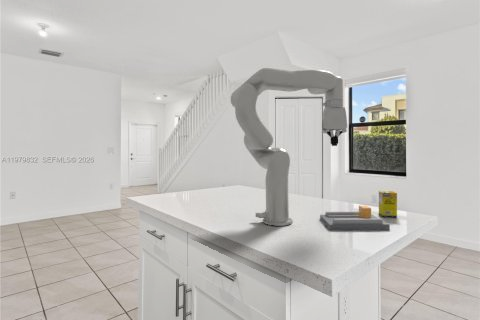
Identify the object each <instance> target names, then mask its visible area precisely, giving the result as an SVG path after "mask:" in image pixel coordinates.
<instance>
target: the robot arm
mask: <svg viewBox="0 0 480 320" xmlns="http://www.w3.org/2000/svg"><path fill="white" fill-rule="evenodd" d="M343 81H344V80H343V77H341V76H337V75H336V76H335V74H334V73H332V72H330V71H327V70H321V69H320V70H319V69H305V70H302V69H301V70H285V69H279V68H270V67H263V68H261V69H259V70H257V71H256V72H255V73H253V74H252V75H251V76H250V77H249V78H248V79H247V80H246V81H244V83H242V84H241V85H240V86H238V87H237V88H236V89H235V90H234V91H233V92H232V93H231V96H230V104H231V106H232V107H234V112H235V118H236V122H237V124H238V125H239V127H240V128H241V129H242V131H243V133H244V137H243V143H244V145H245V148H246V150H247V151H248V152H249V154H250V155H251V156H252V157H253V159H254V161H256V163H257V164H258V165H259V166H260V167H262V168H263V169H265V170H266V174H265V210H264V211H262V212H255V218H258V219H262V223H263V222H264V223H265V224H264V223H263V224H264V225H267V224H268V225H267V226H271V225H274V226H273V227H283V226H284V227H285V226H290V225H291V224H292V223H293V219H292V218H290V216H289V215H290V214H289V213H290V212H289V211H290V210H289V208H290V207H289V172H290V171H289V170H290V166H291V165H290V164H291V158H290V155H289V153H288V152H287V151H286V150H285V149H284V148H280V147H272V145H273V143H274V137H273V135H272V133H271V131H270V130H269V129H268V128H267V126H266V125H265V124H264V122H263V121H262V120H261V117H260V116H259V114H258V111H257V100H258V98H259V96H260V95H261V94H263V93H264V92H265V91H269V90H270V91H280V92H290V93H291V92H297V91H302V90H307V91H308V93H310V94H311V95H324V102H321V106H322V107H324V109H323V113H322V122H321V126H322V127H321V133H322V134H327V135H328V136H329V137H330V145H331V146H332V147H337V146H338V144H339V137H340V136H341V134H344V133H347V128H348V118H347V112H346V107H344V95H343V93H344V83H343ZM334 131H335V132H334Z"/></svg>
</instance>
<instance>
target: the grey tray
mask: <svg viewBox="0 0 480 320" xmlns="http://www.w3.org/2000/svg"><path fill="white" fill-rule="evenodd" d="M324 215H326V216H337V215H359V210H358V211H357V210H356V211H355V210H354V211H353V210H351V211H346V210H345V211H325V214H324ZM383 221H384V219H382V218H380V217H377V218H358V219H333V223H334V224H383Z"/></svg>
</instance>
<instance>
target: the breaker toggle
mask: <svg viewBox="0 0 480 320" xmlns="http://www.w3.org/2000/svg"><path fill="white" fill-rule="evenodd" d="M358 211H359V218H371V214H372V208H371V207H370V206H368V205H358Z"/></svg>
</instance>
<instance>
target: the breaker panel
mask: <svg viewBox="0 0 480 320" xmlns="http://www.w3.org/2000/svg"><path fill="white" fill-rule="evenodd" d="M358 218H359V215H337V216H326V215H325V214H320V215H319V219H320V221H321V222H322V223H323V224H324V225H325V226H326V227H327V228H328V230H330V231H353V230H354V231H359V230H360V231H363V230H364V231H379V230H381V231H383V230H384V231H386V230H388V231H390V225H391V224H390V223H388V222H386V221H384V220H383V224H334V223H333V219H358ZM371 218H378V216H375V215H374V214H373V213H371Z"/></svg>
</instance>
